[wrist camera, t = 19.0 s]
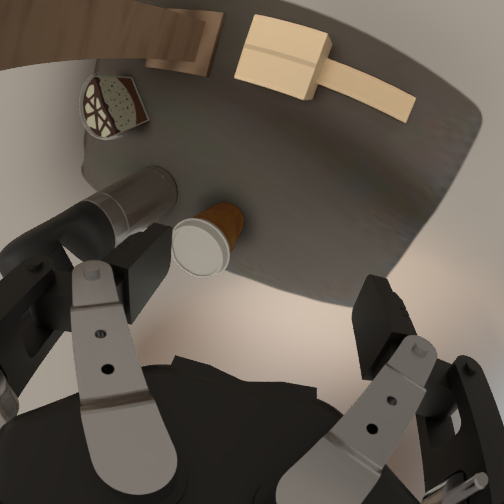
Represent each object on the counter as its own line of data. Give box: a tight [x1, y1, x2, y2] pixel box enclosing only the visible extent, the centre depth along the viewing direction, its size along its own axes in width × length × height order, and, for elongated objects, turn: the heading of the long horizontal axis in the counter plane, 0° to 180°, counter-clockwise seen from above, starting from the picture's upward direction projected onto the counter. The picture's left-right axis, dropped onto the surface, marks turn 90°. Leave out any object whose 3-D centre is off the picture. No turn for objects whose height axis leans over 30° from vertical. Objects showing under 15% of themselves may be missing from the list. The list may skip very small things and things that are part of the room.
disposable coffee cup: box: [171, 202, 244, 278], centre depth 47 cm, size 10×10×12 cm
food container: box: [79, 72, 150, 140], centre depth 43 cm, size 12×6×10 cm, turn 23°
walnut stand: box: [0, 0, 226, 77], centre depth 23 cm, size 12×11×38 cm
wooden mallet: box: [234, 14, 416, 123], centre depth 32 cm, size 22×9×8 cm, turn 73°
